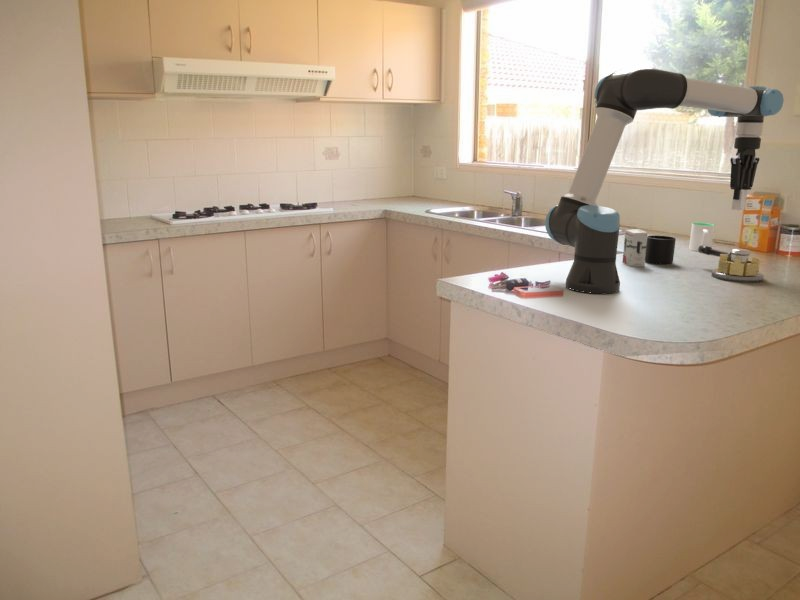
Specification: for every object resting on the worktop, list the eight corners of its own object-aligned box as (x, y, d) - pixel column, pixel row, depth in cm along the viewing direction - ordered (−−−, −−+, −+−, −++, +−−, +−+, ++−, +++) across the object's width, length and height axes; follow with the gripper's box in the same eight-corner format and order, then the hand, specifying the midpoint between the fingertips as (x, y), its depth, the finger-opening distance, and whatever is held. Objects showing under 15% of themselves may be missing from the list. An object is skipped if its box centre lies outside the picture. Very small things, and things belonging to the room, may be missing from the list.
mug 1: (652, 258, 245) (655, 233, 243) (678, 264, 235) (681, 238, 233) (633, 259, 241) (636, 235, 239) (659, 265, 231) (662, 239, 229)
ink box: (621, 261, 237) (625, 228, 234) (635, 262, 237) (638, 229, 234) (630, 266, 229) (634, 232, 226) (644, 266, 229) (648, 232, 226)
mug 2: (716, 254, 257) (719, 227, 255) (694, 253, 258) (697, 226, 256) (707, 249, 269) (711, 223, 266) (686, 248, 270) (689, 222, 267)
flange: (733, 283, 204) (737, 254, 202) (701, 273, 218) (704, 246, 216) (774, 281, 208) (779, 253, 205) (740, 272, 222) (744, 245, 220)
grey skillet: (735, 276, 206) (737, 258, 205) (685, 261, 229) (687, 245, 227) (766, 275, 208) (769, 257, 207) (714, 261, 231) (716, 244, 230)
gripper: (749, 136, 222) (739, 207, 228) (724, 136, 214) (714, 209, 220) (772, 137, 216) (761, 209, 222) (746, 136, 208) (736, 211, 214)
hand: (738, 209), depth 221 cm, fingers open, 2 cm apart
